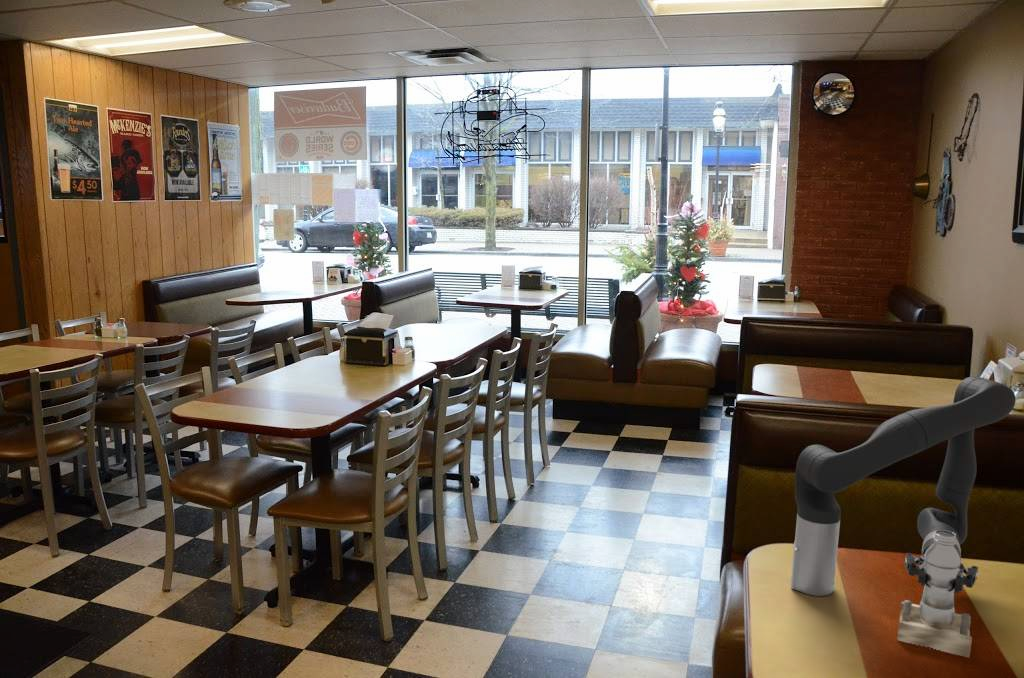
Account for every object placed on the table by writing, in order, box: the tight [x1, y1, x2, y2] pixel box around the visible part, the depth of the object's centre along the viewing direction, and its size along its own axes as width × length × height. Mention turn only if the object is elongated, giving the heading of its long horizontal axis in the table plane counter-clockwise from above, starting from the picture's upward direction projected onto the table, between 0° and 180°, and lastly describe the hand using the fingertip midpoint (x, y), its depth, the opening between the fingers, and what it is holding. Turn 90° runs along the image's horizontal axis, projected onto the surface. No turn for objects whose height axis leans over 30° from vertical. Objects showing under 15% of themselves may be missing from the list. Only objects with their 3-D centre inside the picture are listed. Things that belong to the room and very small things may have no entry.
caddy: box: [896, 599, 973, 659], centre depth 169 cm, size 13×10×6 cm
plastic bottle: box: [918, 530, 962, 629], centre depth 167 cm, size 6×7×20 cm
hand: (940, 584), depth 165 cm, fingers closed on plastic bottle, 5 cm apart
